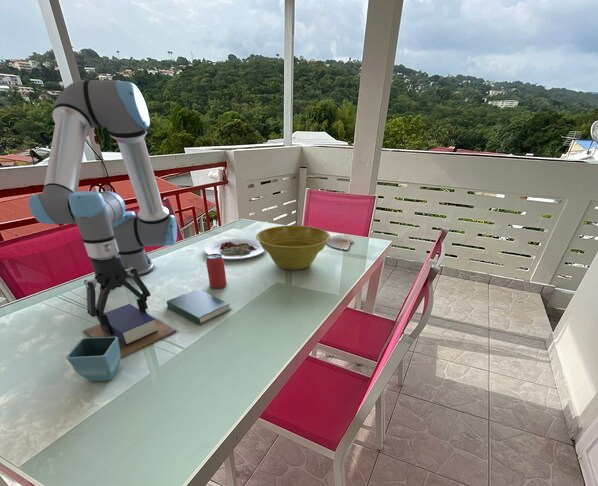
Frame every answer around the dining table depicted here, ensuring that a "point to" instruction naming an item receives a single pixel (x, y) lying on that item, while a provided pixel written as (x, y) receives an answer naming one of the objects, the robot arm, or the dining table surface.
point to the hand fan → (339, 241)
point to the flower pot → (96, 358)
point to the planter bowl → (293, 245)
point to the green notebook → (198, 306)
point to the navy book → (130, 324)
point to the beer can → (216, 271)
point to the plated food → (235, 248)
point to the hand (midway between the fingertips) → (128, 325)
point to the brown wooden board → (125, 350)
